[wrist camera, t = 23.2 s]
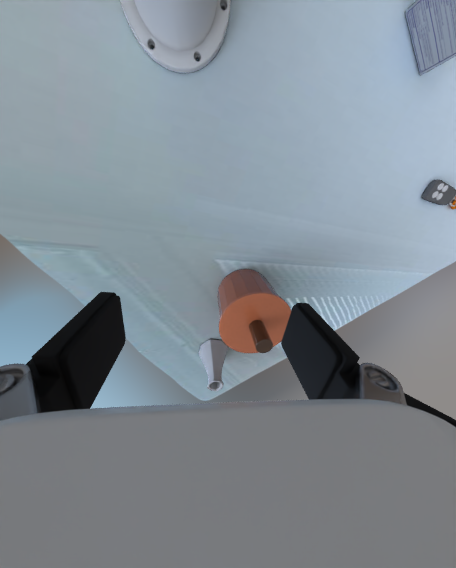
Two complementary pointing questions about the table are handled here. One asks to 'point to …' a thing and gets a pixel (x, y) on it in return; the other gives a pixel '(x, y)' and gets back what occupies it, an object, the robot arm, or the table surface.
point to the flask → (213, 362)
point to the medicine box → (432, 32)
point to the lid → (254, 322)
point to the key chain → (440, 193)
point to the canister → (241, 286)
